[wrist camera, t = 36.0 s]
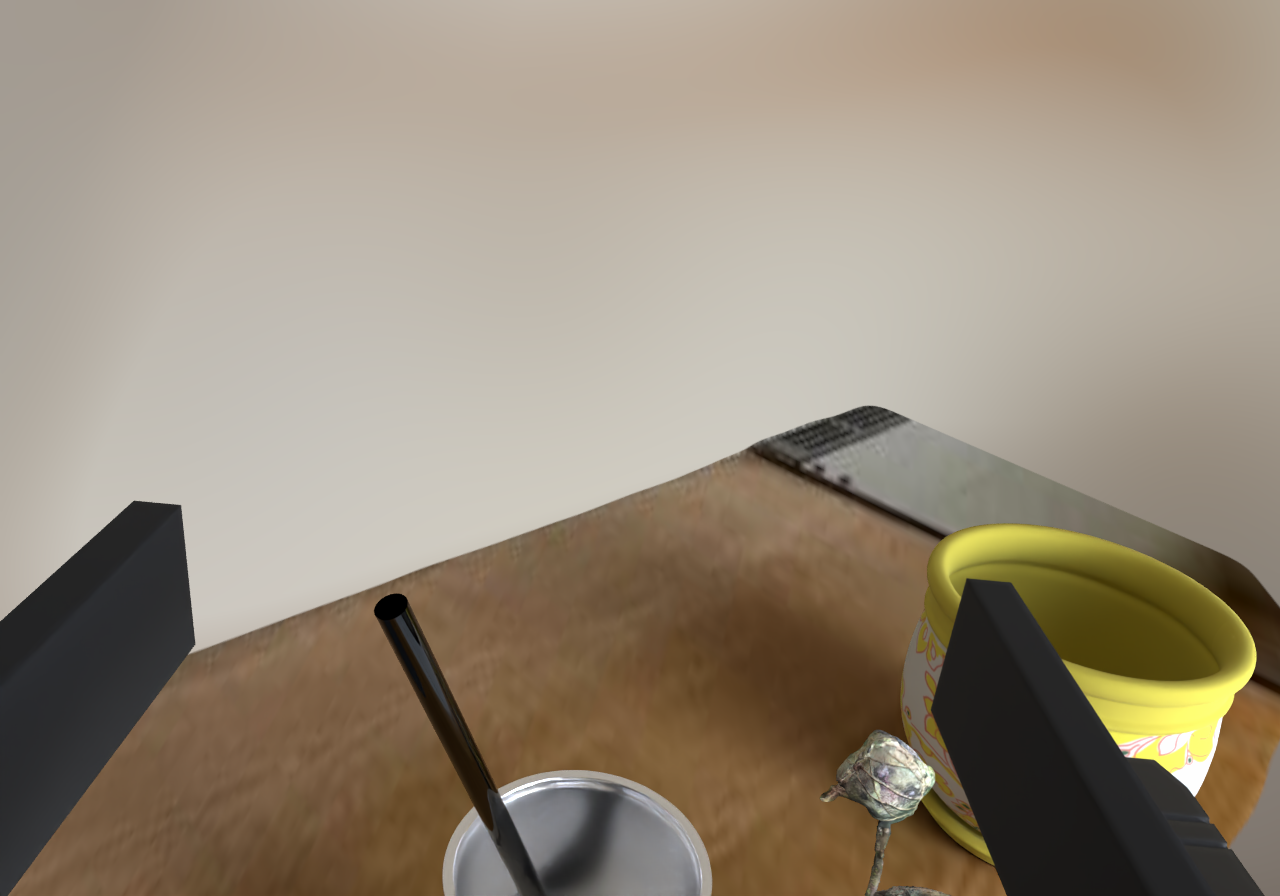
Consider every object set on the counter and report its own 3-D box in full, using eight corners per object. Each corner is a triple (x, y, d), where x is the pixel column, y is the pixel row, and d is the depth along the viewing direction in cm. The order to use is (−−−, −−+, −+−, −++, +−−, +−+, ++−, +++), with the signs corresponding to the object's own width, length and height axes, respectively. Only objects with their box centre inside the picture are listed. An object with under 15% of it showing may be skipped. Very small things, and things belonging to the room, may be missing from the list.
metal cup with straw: (381, 1277, 36) (369, 608, 24) (447, 1001, 47) (463, 437, 35) (665, 1307, 36) (793, 653, 24) (669, 1025, 47) (760, 468, 35)
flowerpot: (882, 884, 56) (947, 651, 49) (870, 696, 72) (917, 502, 66) (1208, 955, 54) (1320, 721, 47) (1119, 744, 70) (1193, 548, 63)
